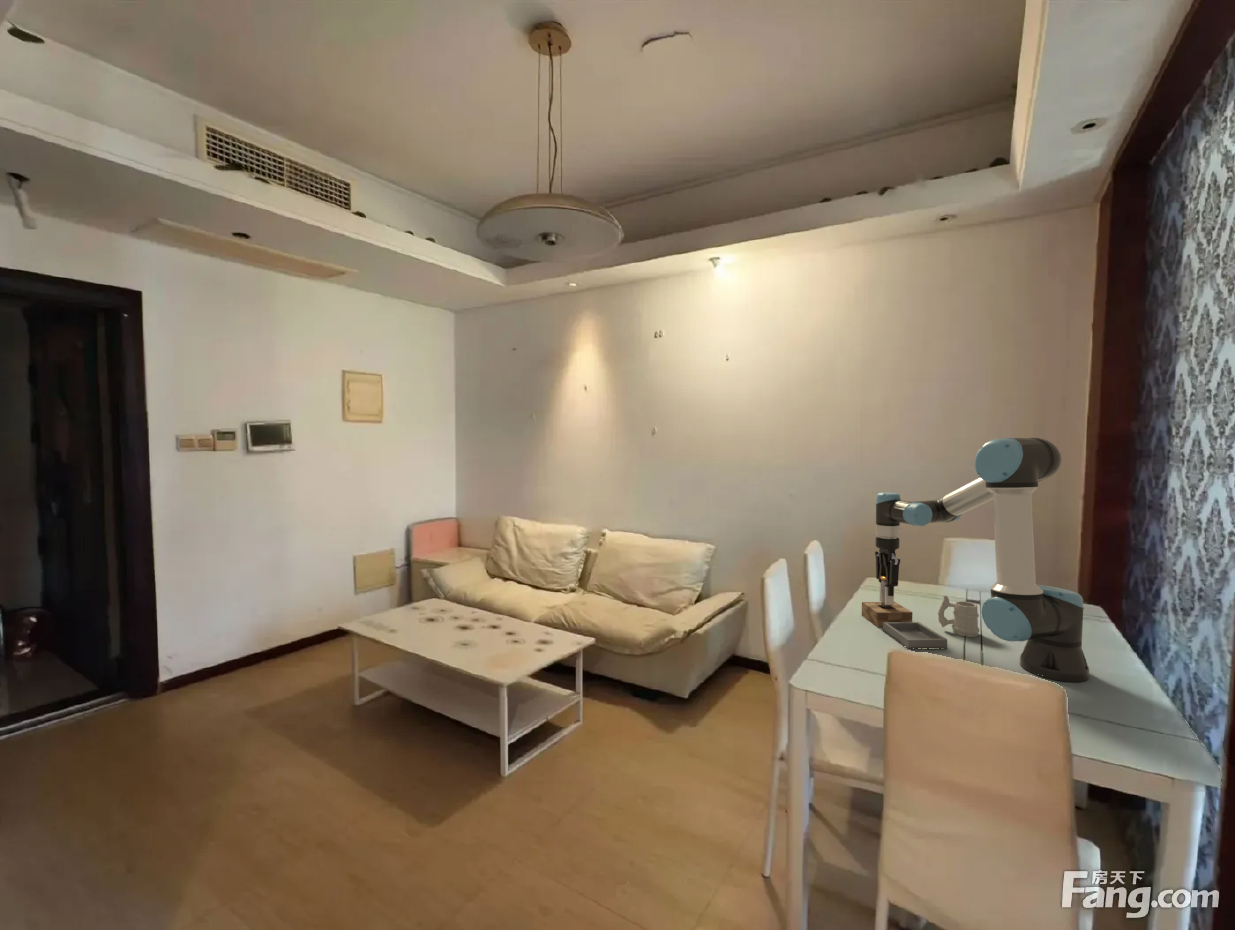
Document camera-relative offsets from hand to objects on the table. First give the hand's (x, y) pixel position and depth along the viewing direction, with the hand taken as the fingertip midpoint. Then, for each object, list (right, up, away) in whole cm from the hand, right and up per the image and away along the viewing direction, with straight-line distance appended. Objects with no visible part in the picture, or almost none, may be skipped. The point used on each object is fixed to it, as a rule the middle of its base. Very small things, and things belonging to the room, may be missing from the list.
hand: (886, 602), depth 196 cm
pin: (0, -7, 0) cm, 7 cm away
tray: (0, -8, -18) cm, 19 cm away
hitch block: (0, -7, 0) cm, 7 cm away
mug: (+18, -7, -12) cm, 23 cm away
